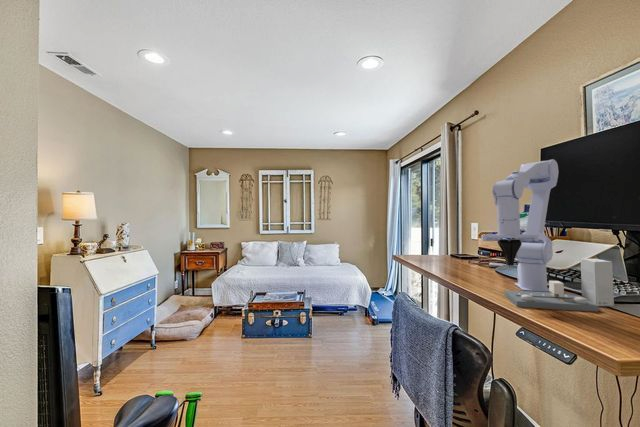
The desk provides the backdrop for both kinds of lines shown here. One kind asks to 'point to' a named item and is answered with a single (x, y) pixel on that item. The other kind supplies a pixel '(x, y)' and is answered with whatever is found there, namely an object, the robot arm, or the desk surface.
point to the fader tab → (556, 288)
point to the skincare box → (597, 281)
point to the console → (550, 300)
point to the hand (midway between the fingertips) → (509, 265)
